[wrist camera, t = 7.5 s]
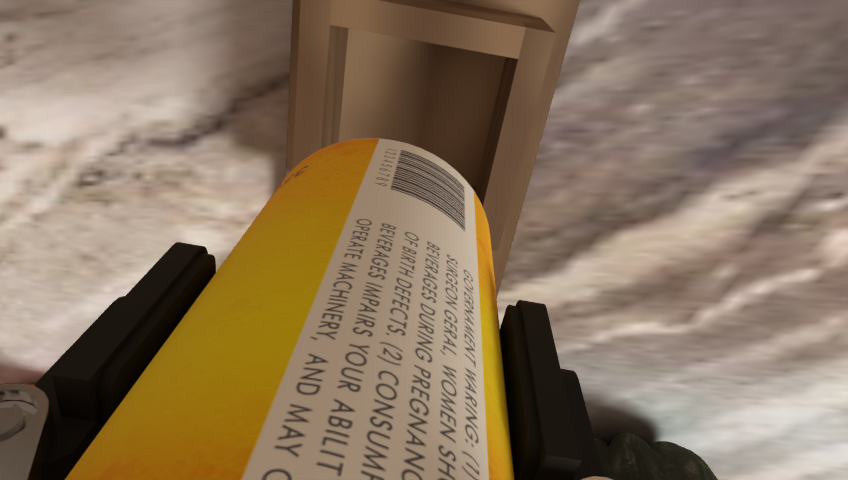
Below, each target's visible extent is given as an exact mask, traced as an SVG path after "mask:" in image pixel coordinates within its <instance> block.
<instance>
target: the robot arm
mask: <svg viewBox="0 0 848 480" xmlns="http://www.w3.org/2000/svg"><path fill="white" fill-rule="evenodd" d="M215 273H216V264H215V257H214V256H213V255H210V254H208V252H207V249H206V248H205V247H204V246H198V245H192V244H186V243H180V242H177V243H175V244H174V245H173V246H172V247H171V248H170V249H169V250H168V251H167V252H166V253H165V254H164V255H163V256H162V257H161V259H160V260H159V261H158V262H157V263H156V264H155V265H154V266H153V267H152V268H151V269H150V270H149V271H148V272H147V274H146V275H145V276H144V277H143V278H142V279H141V280H140V281H139V282H138V283H137V284H136V285H135V286H134V287H133V288H132V290H131V291H130V292H129V293H128V294H127V295H126V296H123V297H119V298H118V299H117V300H115V301H114V302H113V303H112V304H111V305H110V306H109V307H108V308H107V309H106V310H105V311H104V312H103V313H102V314H101V316H100V317H99V318H98V319H97V320H96V321H95V322H94V323H93V324H92V325H91V326H90V327H89V328H88V329H87V330H86V331H85V332H84V333H83V334H82V335H81V336H80V338H79V339H78V340H77V341H76V342H75V343H74V344H73V345H72V346H71V347H70V348H69V349H68V350H67V351H66V352H65V353H64V354H63V355H62V356H61V357H60V359H59V360H58V361H57V362H56V363H55V364H54V365H53V366H52V367H51V368H50V369H49V370H48V371H47V372H46V373H45V374H44V375H43V376H42V377H41V378H40V379H39V381H38V382H37V383H36V384H35V385H34V386H32V385H28V384H23V383H6V384H0V480H65V479H66V477H67V476H68V474H69V473H70V472H71V470H72V469H73V468H74V466H75V465H76V463H77V462H78V461H79V459H80V458H81V457H82V455H83V454H84V453H85V451H86V450H87V448H88V447H89V446H90V444H91V443H92V442H93V440H94V439H95V437H96V436H97V435H98V433H99V432H100V431H101V429H102V428H103V427H104V425H105V424H106V422H107V421H108V420H109V418H110V417H111V416H112V414H113V413H114V412H115V410H116V409H117V407H118V406H119V405H120V403H121V402H122V401H123V399H124V398H125V396H126V395H127V394H128V392H129V391H130V390H131V388H132V387H133V386H134V384H135V383H136V381H137V380H138V379H139V377H140V376H141V375H142V373H143V372H144V370H145V369H146V368H147V366H148V365H149V364H150V362H151V361H152V360H153V358H154V357H155V355H156V354H157V353H158V351H159V350H160V349H161V347H162V346H163V345H164V343H165V342H166V340H167V339H168V338H169V336H170V335H171V334H172V332H173V331H174V329H175V328H176V327H177V325H178V324H179V323H180V321H181V320H182V319H183V317H184V316H185V314H186V313H187V312H188V310H189V309H190V308H191V306H192V305H193V303H194V302H195V301H196V299H197V298H198V297H199V295H200V294H201V293H202V291H203V290H204V288H205V287H206V286H207V284H208V283H209V282H210V280H211V279H212V278H213V276H214V275H215ZM500 340H501V350H502V360H503V370H504V380H505V390H506V400H507V410H508V420H509V431H510V441H511V451H512V461H513V471H514V480H613V479H610V478H607V477H604V473H603V470H602V466H601V462H600V458H599V455H598V451H597V447H596V443H595V440H594V436H593V432H592V428H591V425H590V421H589V417H588V413H587V410H586V406H585V402H584V398H583V395H582V391H581V387H580V383H579V379H578V377H577V374H576V373H575V372H574V371H571V370H565V369H560V365H559V361H558V356H557V352H556V348H555V343H554V339H553V334H552V330H551V326H550V321H549V317H548V313H547V308H546V306H545V305H544V304H540V303H534V302H528V301H522V300H519V301H518V302H517V304H516V306H512V305H508V306H507V308H506V311H505V315H504V318H503V321H502V325H501V328H500Z"/></svg>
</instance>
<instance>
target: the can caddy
mask: <svg viewBox="0 0 848 480" xmlns="http://www.w3.org/2000/svg"><path fill="white" fill-rule="evenodd" d="M579 2H580V0H293V11H292V35H291V60H290V84H289V109H288V133H287V158H286V177H287V175H288V174H289V173H290V172H291V171H292V170H293V169H294V168H295V167H296V166H297V165H298V164H299V163H300V162H301V161H303V160H304V159H306V158H307V157H308V156H310V155H311V154H313V153H315V152H317V151H319V150H321V149H323V148H325V147H327V146H330V145H333V144H336V143H339V142H343V141H348V140H353V139H363V138H381V139H389V140H395V141H400V142H404V143H408V144H411V145H414V146H416V147H419V148H422V149H424V150H426V151H428V152H430V153H432V154H434V155H436V156H437V157H439V158H440V159H442V160H444V161H445V162H446V163H448V164H449V165H450V166H451V167H453V168H454V169H455V170H456V171H457V172H458V173H459V174H460V175H461V176H462V177H463V178H464V179H465V180H466V181H467V182H468V184H469V185H470V186H471V188H472V189H473V190H474V192H475V193H476V195H477V197H478V198H479V200H480V202H481V204H482V207H483V209H484V211H485V214H486V217H487V221H488V224H489V231H490V239H491V249H492V259H493V269H494V279H495V289H496V298H497V295H498V291H499V287H500V284H501V280H502V277H503V273H504V270H505V266H506V262H507V259H508V255H509V252H510V248H511V245H512V241H513V237H514V234H515V230H516V227H517V223H518V220H519V216H520V213H521V209H522V205H523V202H524V198H525V195H526V191H527V188H528V184H529V180H530V177H531V173H532V170H533V166H534V163H535V159H536V155H537V152H538V148H539V145H540V141H541V138H542V134H543V130H544V127H545V123H546V120H547V116H548V113H549V109H550V105H551V102H552V98H553V95H554V91H555V88H556V84H557V80H558V77H559V73H560V70H561V66H562V63H563V59H564V55H565V52H566V48H567V45H568V41H569V38H570V34H571V30H572V27H573V23H574V20H575V16H576V13H577V9H578V5H579Z"/></svg>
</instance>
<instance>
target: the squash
mask: <svg viewBox="0 0 848 480" xmlns="http://www.w3.org/2000/svg"><path fill="white" fill-rule="evenodd" d="M594 440H595V443H596V447H597V451H598V455H599V458H600V462H601V466H602V470H603V473H604V477H607V478H610V479H613V480H718V479H717V478H716V476H715V475H714V474H713V472H712V471H711V469H710V468H709V467H708V465H707V464H706V463H705V462H704V460H702V459H701V458H700V457H699V456H698V455H697V454H695V453H694V452H692V451H691V450H688V449H686V448H683V447H681V446H679V445H677V444H674V443H671V442H665V441H658V442H652V443H649V444H647V443H646V441H644V440H643V439H642V438H640V437H639V436H637V435H634V434H631V433H627V432H623V433H619V434H617V435H616V436H615V437H614V438H613V439H612V440H611V442H610V444H609V446H608V445H607V444H606V443H605V442H604V441H602V440H600V439H597V438H594Z"/></svg>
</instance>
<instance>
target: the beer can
mask: <svg viewBox="0 0 848 480" xmlns="http://www.w3.org/2000/svg"><path fill="white" fill-rule="evenodd" d="M65 480H514V471H513V461H512V451H511V441H510V431H509V420H508V410H507V400H506V390H505V380H504V370H503V360H502V350H501V340H500V330H499V320H498V310H497V300H496V289H495V279H494V269H493V259H492V249H491V239H490V231H489V224H488V221H487V217H486V214H485V211H484V209H483V207H482V204H481V202H480V200H479V198H478V197H477V195H476V193H475V192H474V190H473V189H472V188H471V186H470V185H469V184H468V182H467V181H466V180H465V179H464V178H463V177H462V176H461V175H460V174H459V173H458V172H457V171H456V170H455V169H454V168H453V167H451V166H450V165H449V164H448V163H446V162H445V161H444V160H442V159H440V158H439V157H437V156H436V155H434V154H432V153H430V152H428V151H426V150H424V149H422V148H419V147H416V146H414V145H411V144H408V143H404V142H400V141H395V140H389V139H381V138H363V139H353V140H348V141H343V142H339V143H336V144H333V145H330V146H327V147H325V148H323V149H321V150H319V151H317V152H315V153H313V154H311V155H310V156H308V157H307V158H306V159H304V160H303V161H301V162H300V163H299V164H298V165H297V166H296V167H295V168H294V169H293V170H292V171H291V172H290V173H289V174H288V175H287V177H286V178H285V179H284V180H283V182H282V183H281V185H280V186H279V187H278V189H277V190H276V191H275V193H274V194H273V195H272V197H271V198H270V200H269V201H268V202H267V204H266V205H265V206H264V208H263V209H262V211H261V212H260V213H259V215H258V216H257V217H256V219H255V220H254V221H253V223H252V224H251V226H250V227H249V228H248V230H247V231H246V232H245V234H244V235H243V236H242V238H241V239H240V241H239V242H238V243H237V245H236V246H235V247H234V249H233V250H232V252H231V253H230V254H229V256H228V257H227V258H226V260H225V261H224V262H223V264H222V265H221V267H220V268H219V269H218V271H217V272H216V273H215V275H214V276H213V278H212V279H211V280H210V282H209V283H208V284H207V286H206V287H205V288H204V290H203V291H202V293H201V294H200V295H199V297H198V298H197V299H196V301H195V302H194V303H193V305H192V306H191V308H190V309H189V310H188V312H187V313H186V314H185V316H184V317H183V319H182V320H181V321H180V323H179V324H178V325H177V327H176V328H175V329H174V331H173V332H172V334H171V335H170V336H169V338H168V339H167V340H166V342H165V343H164V345H163V346H162V347H161V349H160V350H159V351H158V353H157V354H156V355H155V357H154V358H153V360H152V361H151V362H150V364H149V365H148V366H147V368H146V369H145V370H144V372H143V373H142V375H141V376H140V377H139V379H138V380H137V381H136V383H135V384H134V386H133V387H132V388H131V390H130V391H129V392H128V394H127V395H126V396H125V398H124V399H123V401H122V402H121V403H120V405H119V406H118V407H117V409H116V410H115V412H114V413H113V414H112V416H111V417H110V418H109V420H108V421H107V422H106V424H105V425H104V427H103V428H102V429H101V431H100V432H99V433H98V435H97V436H96V437H95V439H94V440H93V442H92V443H91V444H90V446H89V447H88V448H87V450H86V451H85V453H84V454H83V455H82V457H81V458H80V459H79V461H78V462H77V463H76V465H75V466H74V468H73V469H72V470H71V472H70V473H69V474H68V476H67V477H66V479H65Z"/></svg>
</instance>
